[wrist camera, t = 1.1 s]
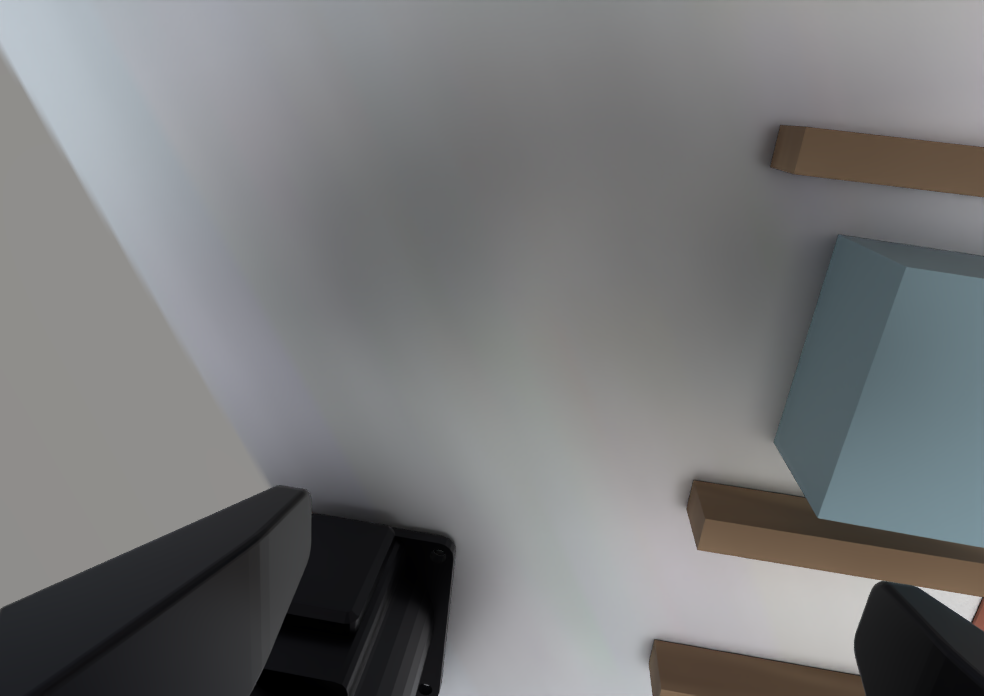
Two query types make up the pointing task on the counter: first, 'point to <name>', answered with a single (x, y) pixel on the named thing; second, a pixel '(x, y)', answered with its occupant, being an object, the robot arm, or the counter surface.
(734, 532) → the brown bars
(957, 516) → the slate block
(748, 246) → the counter surface
